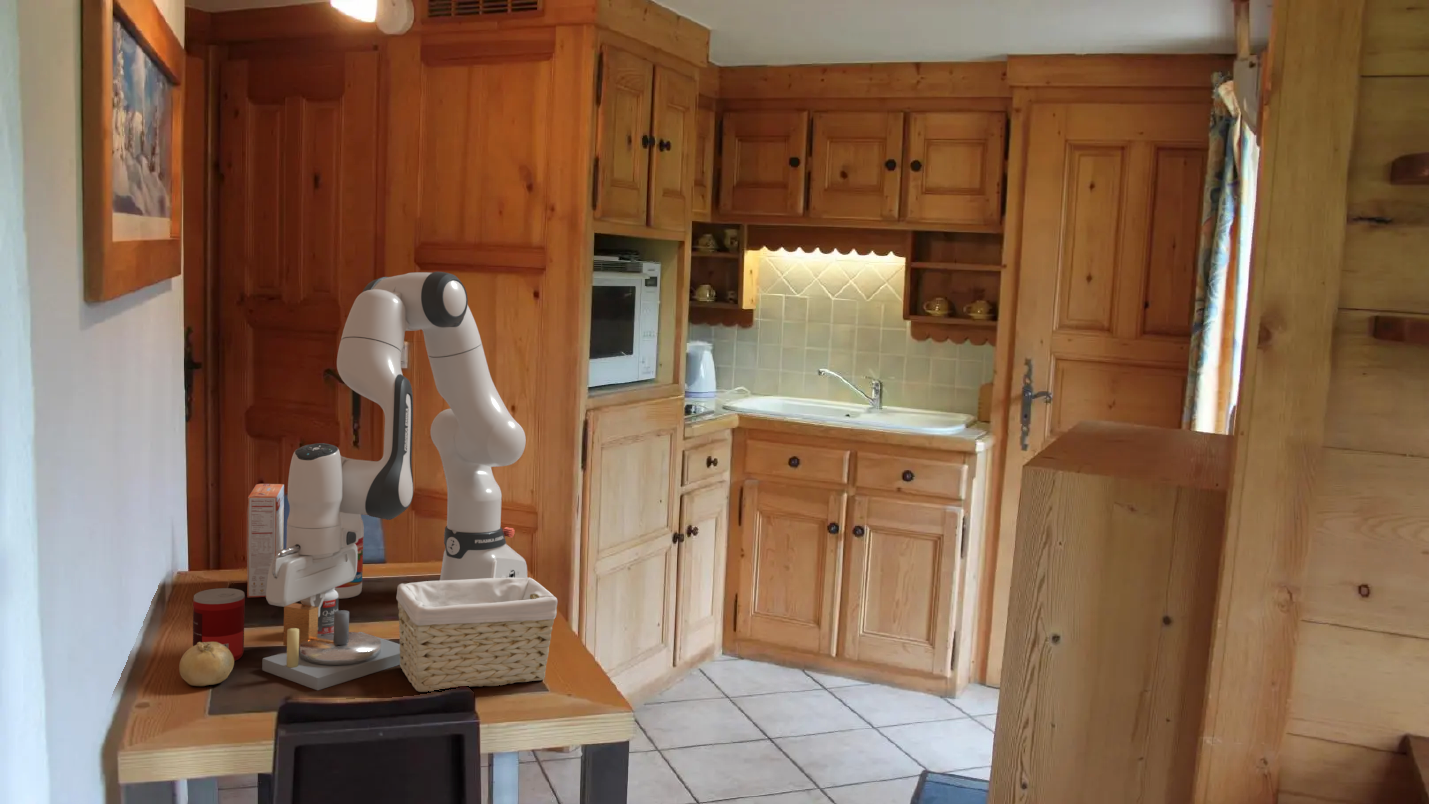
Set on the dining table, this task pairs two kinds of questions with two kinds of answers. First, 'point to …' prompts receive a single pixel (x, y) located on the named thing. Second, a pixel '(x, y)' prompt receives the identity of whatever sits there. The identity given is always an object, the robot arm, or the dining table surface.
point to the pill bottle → (328, 612)
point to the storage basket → (474, 632)
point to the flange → (326, 639)
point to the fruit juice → (356, 585)
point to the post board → (328, 675)
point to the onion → (206, 664)
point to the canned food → (220, 618)
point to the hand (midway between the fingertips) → (312, 618)
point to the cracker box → (263, 534)
